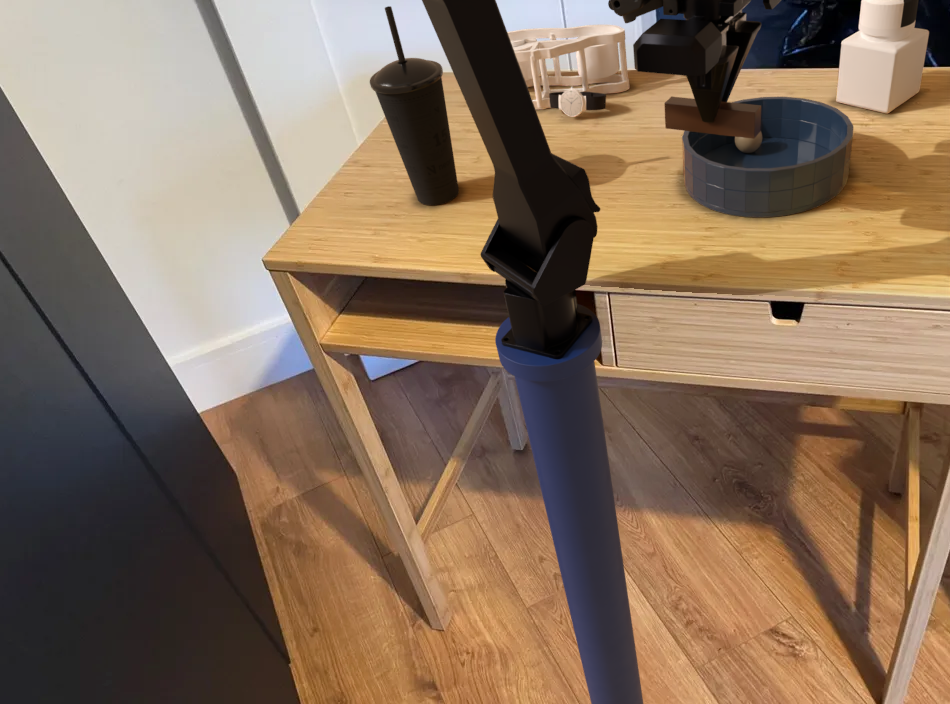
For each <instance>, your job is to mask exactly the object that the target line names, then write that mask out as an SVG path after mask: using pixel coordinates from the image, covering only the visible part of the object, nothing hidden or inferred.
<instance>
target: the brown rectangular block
mask: <svg viewBox="0 0 950 704" xmlns="http://www.w3.org/2000/svg"><path fill="white" fill-rule="evenodd" d="M664 123H665V129H667V130H674V131H675V130H677V131H683V132H684V131H692V132H700V133H709V134H718V135H726V136H735V137H743V138H752V139H754V138H755V137H756V136H757V135H758V134H759V132H760V126H761V105H752V104H741V103H731V102H730V101H727V102H721V104H720V107H719V110H718V113H717V115H716V118H715V121H714V122H713V123H707V122H703V121H702V119H701V116H700V113H699V110H698V108H697V105H696V102H695V99H694V98H690V97H681V96H670V97H669V98H668V99H667V100H666V101H665V102H664Z"/></svg>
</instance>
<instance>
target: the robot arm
mask: <svg viewBox="0 0 950 704" xmlns="http://www.w3.org/2000/svg"><path fill="white" fill-rule="evenodd" d="M421 1H422V5H423V6H424V9H425V11H426V13H427V15H428V18H429V20H430V23H431V25H432V27H433V29H434V31H435V34H436V36H437V39H438V41H439V43H440V47H441V48H442V51H443V53H444V55H445V57H446V59H447V62H448V63H449V66H450V69H451V71H452V73H453V75H454V78H455V81H456V82H457V85H458V87H459V89H460V91H461V94H462V96H463V99H464V101H465V104H466V105H467V108H468V110H469V112H470V115H471V117H472V119H473V122H474V124H475V127H476V128H477V131H478V133H479V135H480V138H481V140H482V143H483V145H484V148H485V149H486V152H487V154H488V156H489V159H490V161H491V163H492V166H493V170H494V179H493V188H492V199H493V200H492V201H493V203H494V209H495V212H496V215H497V219H496V221H495V223H494V226H493V227H492V228H491V229H492V230H491V232H490V233H489V236H488V238H487V239H486V241H485V244H484V245H483V248H482V249H481V252H480V258H481V259H482V260H483V262H484V263H485V265H486V266H487V268H488V269H489V270H491V272H493V273H496V274H497V275H499V276H501V277H502V278H504V279H505V281H504V282H505V283H504V284H505V289H504V290H503V297H504V300H505V306H506V310H507V314H508V317H509V319H510V323H511V329H510V330H509V331H508V332H507V334H506V335H505V336H504V337H503V338H502V339H501V342H502V345H503V346H506V347H510V348H514V349H518V350H521V351H525V352H529V353H533V354H537V355H541V356H545V357H549V358H552V359H561V358H562V357H563V356H564V355H565V354H566V353H567V351H568V350H569V349H570V348H571V347H572V345H573V344H574V343H575V342H576V341H577V340H578V338H579V337H580V336H581V335H582V334H583V332H584V331H585V330H586V329H587V328H588V326H589V325H590V324H591V323H592V316H591V315H588V314H584V313H580V312H577V309H578V305H577V304H578V299H577V293H576V290H578V289H579V288H582V287H583V286H585V285H586V284H587V279H588V274H589V267H590V262H591V256H592V250H593V246H594V245H593V244H594V239H595V238H596V237H597V235H598V221H597V217H596V215H595V214H596V213H600V212H601V207H600V206H599V205H598V204H597V203H596V202H595V200H594V197H593V195H592V191H591V185H590V179H589V176H588V173H587V171H586V169H584V168H583V167H581V166H580V165H577V164H574V163H573V162H571V161H569V160H566V159H564V158H562V157H561V156H558V155H557V154H554V153H552V151H551V148H550V146H549V143H548V140H547V137H546V134H545V132H544V128H543V126H542V123H541V121H540V118H539V115H538V113H537V110H535V107H534V104H533V101H532V100H533V98H532V96H531V93H530V91H529V87H527V85H526V82H525V79H524V77H523V74H522V71H521V69H520V66H519V63H518V60H517V58H516V55H515V52H514V49H513V47H512V44H511V41H510V38H509V36H508V33H507V32H508V31H507V30H508V29H507V28H506V25H505V22H504V19H503V17H502V14H501V11H500V8H499V5H498V3H497V0H421ZM781 1H782V0H762V4H763V6H764V9H765V10H773V9H774V8H775V7H777V5H779V4H780V3H781ZM751 2H752V0H608V3H607V4H608V5H607V6H608V8H609V9H610V10H612V11H613V12H614V14H616V15H617V16H619V17H622V19H623V22H624V24H630V23H632V22H634V21H636V20H637V18H638V17H641V16H643V15H646V14H648V13H651V12H654V11H656V10H659V9H661V8H662V11H663V12H662V15H663V16H677V15H683V18H684V19H675V18H674V19H673V18H660V19H658V20H657V21H656V22H655V23H653V24H652V25H651V26H650V27H648V28H647V29H646V30H645V31H643V32H642V34H641V35H640V36H639V37H638V38H637V40H635V42H634V43H633V44H632V46H633V47H632V48H633V63H634V64H633V65H634V69H635V70H636V72H637V73H650V74H660V75H661V74H662V75H671V76H672V75H673V76H683V77H686V79H687V82H688V84H689V87H690V89H691V93H692V96H693V99H695V102H696V105H697V108H698V110H699V113H700V116H701V119H702V121H703V122H707V123H713V122H714V121H715V118H716V115H717V113H718V110H719V107H720V104H721V102H729V99H730V96H731V94H732V92H733V89H734V86H735V84H736V82H737V79H738V78H739V75H740V72H741V71H742V68H743V66H744V63H745V61H746V59H747V57H748V55H749V52H750V51H751V49H752V46H753V44H754V41H755V39H756V37H757V35H758V33H759V31H760V30H761V28H762V21H758V20H747V12H745V11H743V9H744V8H745V7H747V6H748V5H749V4H750V3H751Z"/></svg>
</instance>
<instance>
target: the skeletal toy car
mask: <svg viewBox="0 0 950 704" xmlns="http://www.w3.org/2000/svg"><path fill="white" fill-rule="evenodd" d="M507 33H508V36H509V38H510V41H511V44H512V47H513V49H514V52H515V55H516V58H517V60H518V63H519V66H520V69H521V71H522V74H523V77H524V79H525V82H526V85H527V88H529V87H533V88H534V94H535V99H532V101H533V104H534V107H535V110H536V111H538V110H545V109H552V108H551V107H550V99H549V94H550V93H554V92H565V91H566V90H568V89H569V88H551V89H550V86H559V87H560V86H563V87H564V86H565V87H573V89H576V90H578V91H579V92H594V93H602V94H606V95H607V94H616V93H617V94H618V93H623V92H626V91H628V90H630V78H629V75H628V74H629V72H628V60H627V49H626V47H627V46H626V29H625V28H623V27H621V26H619V25H615V24H587V25H580V26H572V27H537V28H524V29H517V30H510V31H507ZM538 39H545V40H538ZM546 39H548V40H546ZM572 53H575V56H576V64H577V73H578V75H562V71H561V65H560V56H563V55H568V54H572ZM547 59H548V60H549V59H552V63H553V69H554V75H548V69H547V68H548V67H547V64H546V63H547V62H546V60H547ZM619 71H620V72H621V74H619V73H618V72H619ZM592 84H595V85H592ZM589 85H591V86H589ZM575 86H582V87H577V88H576V87H575ZM542 87H543V88H542ZM574 87H575V88H574ZM542 89H543V90H542Z"/></svg>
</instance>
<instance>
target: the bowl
mask: <svg viewBox="0 0 950 704" xmlns="http://www.w3.org/2000/svg"><path fill="white" fill-rule="evenodd" d="M731 103H741V104H752V105H761V126H760V131H761V133H762V143H761V145H760V147H759V148H758V149H757V150H756V151H754V152H752V153H743V152H741V151H740V150H739V149H738V148H737V147H736V145H735V136H726V135H718V134H709V133H700V132H692V131H683V134H682V137H681V145H682V172H683V179H684V180H683V183H684V188H685V190H686V192H687V194H688V196H689V197H690V198H692V199H693V200H694V201H695V202H696V203H697V204H699V205H700V206H703V207H704V208H707V209H709V210H712V211H714V212H718V213H721V214H725V215H730V216H733V217H734V216H735V217H743V218H777V217H785V216H790V215H791V216H792V215H796V214H800V213H803V212H807V211H810V210H813V209H815V208H818V207H820V206H822V205H824V204H826V203H828V202H830V201H831V200H833V199H834V198H835V197H837V196H838V195H839V194H840V193H841V192H842V191H843V189H844V188H845V187H846V185H847V183H848V180H849V179H848V178H849V174H850V166H851V157H852V148H853V146H852V145H853V140H854V139H853V138H854V124H853V123H852V121H851V119H850V118H849V115H847V114H845V113H844V112H843V111H841V110H840V109H839V108H837V107H835V106H832V105H829V104H828V103H825V102H822V101H817V100H814V99H813V100H812V99H808V98H803V97H794V96H793V97H792V96H761V97H752V98H746V99H740V100H736V101H732V102H731Z"/></svg>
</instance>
